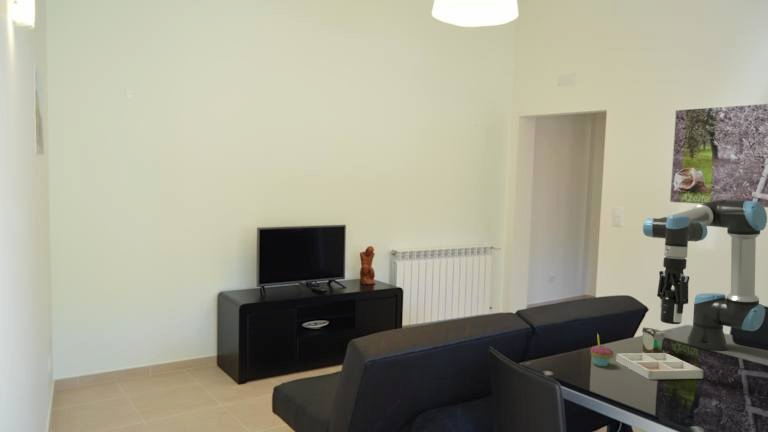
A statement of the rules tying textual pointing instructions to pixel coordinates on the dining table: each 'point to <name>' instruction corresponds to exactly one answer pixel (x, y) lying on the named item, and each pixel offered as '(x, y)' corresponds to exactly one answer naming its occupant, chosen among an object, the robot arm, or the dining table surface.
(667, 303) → the supplement bottle
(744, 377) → the dining table surface
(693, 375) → the organiser
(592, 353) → the cupcake
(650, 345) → the food container
